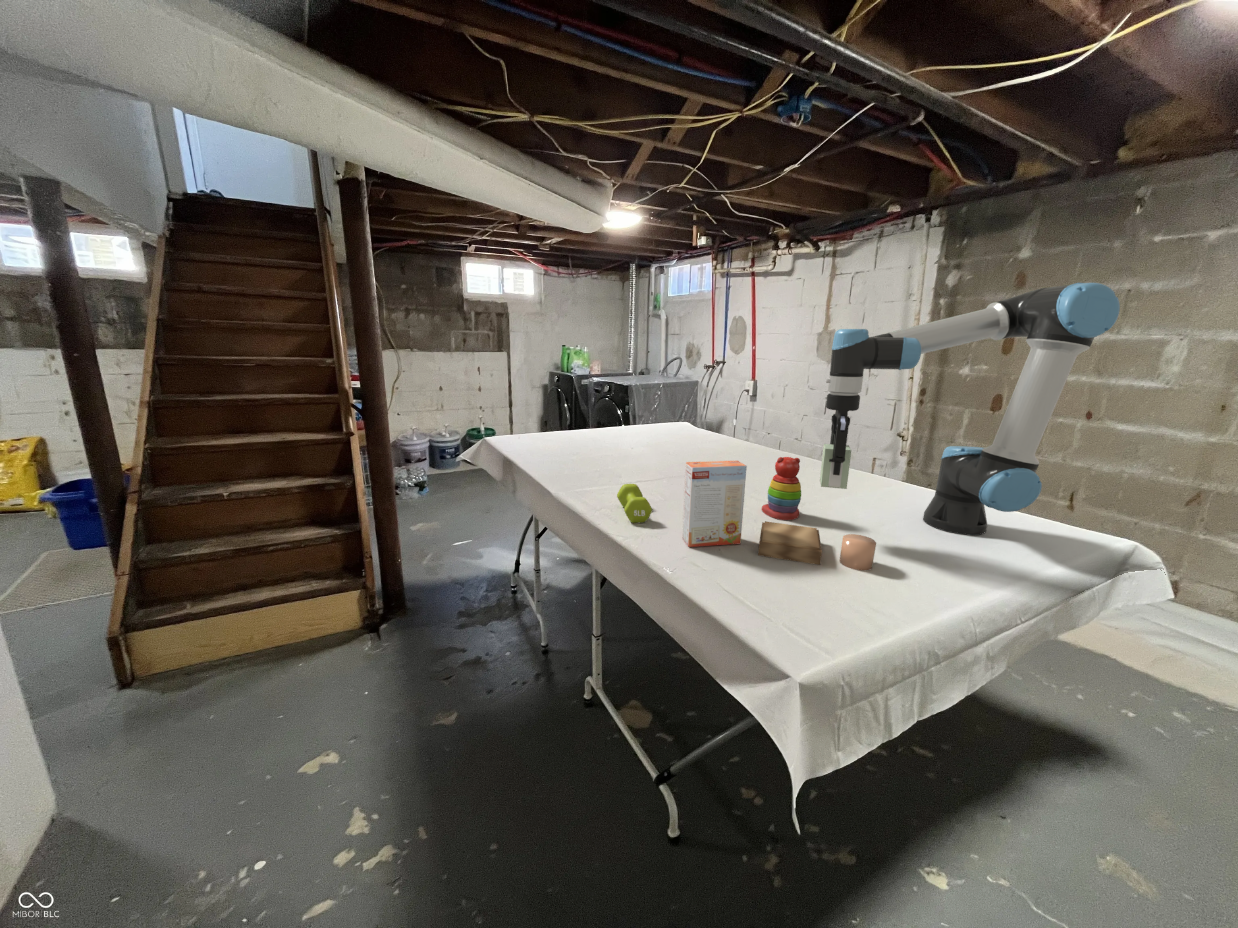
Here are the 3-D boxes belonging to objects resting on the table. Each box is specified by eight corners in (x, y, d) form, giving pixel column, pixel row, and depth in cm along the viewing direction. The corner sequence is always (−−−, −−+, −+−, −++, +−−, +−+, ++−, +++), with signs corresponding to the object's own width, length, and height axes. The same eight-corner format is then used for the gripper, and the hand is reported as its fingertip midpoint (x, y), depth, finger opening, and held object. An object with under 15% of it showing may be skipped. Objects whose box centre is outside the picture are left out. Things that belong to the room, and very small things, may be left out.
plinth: (817, 542, 125) (819, 527, 124) (820, 564, 113) (822, 549, 112) (761, 534, 130) (762, 520, 129) (757, 555, 117) (759, 540, 116)
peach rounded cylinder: (869, 559, 116) (873, 536, 114) (874, 572, 110) (878, 548, 108) (838, 555, 118) (841, 532, 117) (840, 567, 112) (844, 543, 110)
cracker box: (731, 535, 128) (738, 459, 123) (741, 545, 123) (748, 465, 117) (680, 538, 126) (685, 460, 121) (687, 547, 120) (692, 466, 115)
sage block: (844, 482, 128) (848, 445, 125) (846, 489, 122) (851, 450, 120) (819, 480, 129) (823, 443, 127) (821, 486, 124) (825, 448, 121)
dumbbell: (652, 523, 136) (653, 499, 134) (624, 524, 134) (625, 500, 133) (641, 504, 151) (641, 482, 150) (616, 505, 150) (616, 482, 148)
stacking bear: (795, 509, 149) (802, 453, 145) (804, 521, 139) (812, 462, 135) (760, 507, 150) (765, 452, 146) (766, 519, 140) (772, 460, 136)
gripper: (824, 389, 130) (815, 472, 135) (830, 397, 112) (819, 492, 118) (855, 390, 127) (845, 474, 133) (866, 398, 110) (853, 495, 116)
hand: (833, 482), depth 126 cm, fingers closed on sage block, 6 cm apart
